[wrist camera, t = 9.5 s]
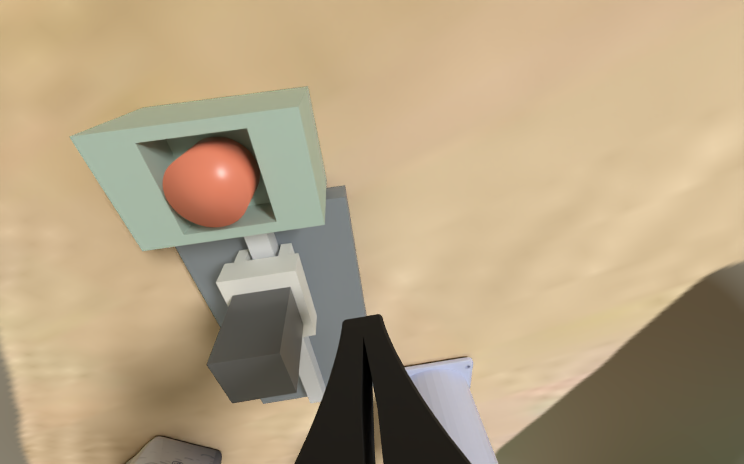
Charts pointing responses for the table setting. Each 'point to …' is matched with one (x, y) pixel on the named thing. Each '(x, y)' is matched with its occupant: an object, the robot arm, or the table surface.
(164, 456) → the juice carton
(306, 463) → the robot arm
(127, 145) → the end cabinet
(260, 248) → the rail board
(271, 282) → the carriage
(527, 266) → the table surface
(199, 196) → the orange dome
